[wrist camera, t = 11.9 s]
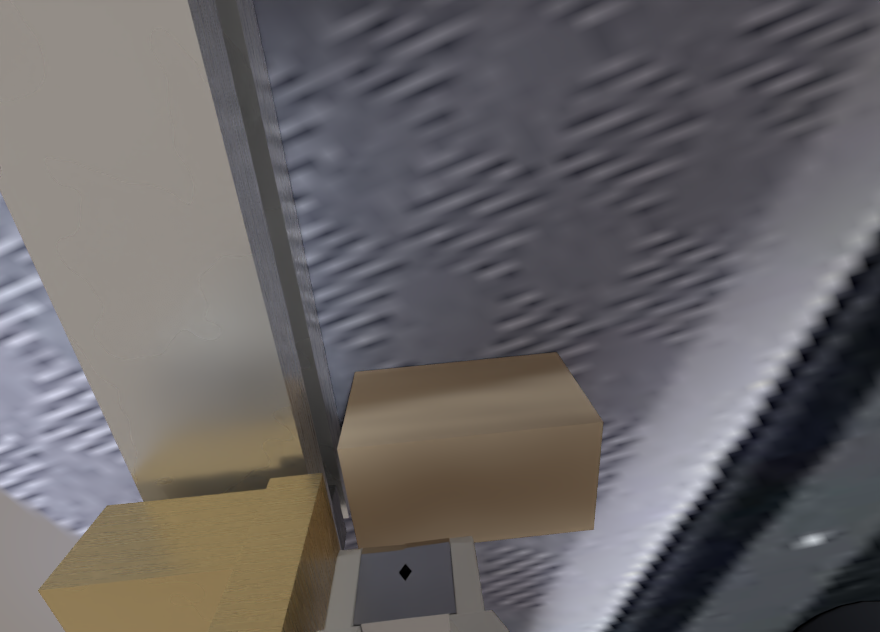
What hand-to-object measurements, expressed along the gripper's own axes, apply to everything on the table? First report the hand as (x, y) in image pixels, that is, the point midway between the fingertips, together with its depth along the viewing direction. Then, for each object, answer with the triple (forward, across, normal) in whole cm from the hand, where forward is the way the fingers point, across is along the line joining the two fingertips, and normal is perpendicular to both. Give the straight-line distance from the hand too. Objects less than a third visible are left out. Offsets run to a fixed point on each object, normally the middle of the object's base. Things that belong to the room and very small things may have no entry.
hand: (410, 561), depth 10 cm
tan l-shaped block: (+1, +4, 0) cm, 4 cm away
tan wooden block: (+5, -2, 0) cm, 5 cm away
